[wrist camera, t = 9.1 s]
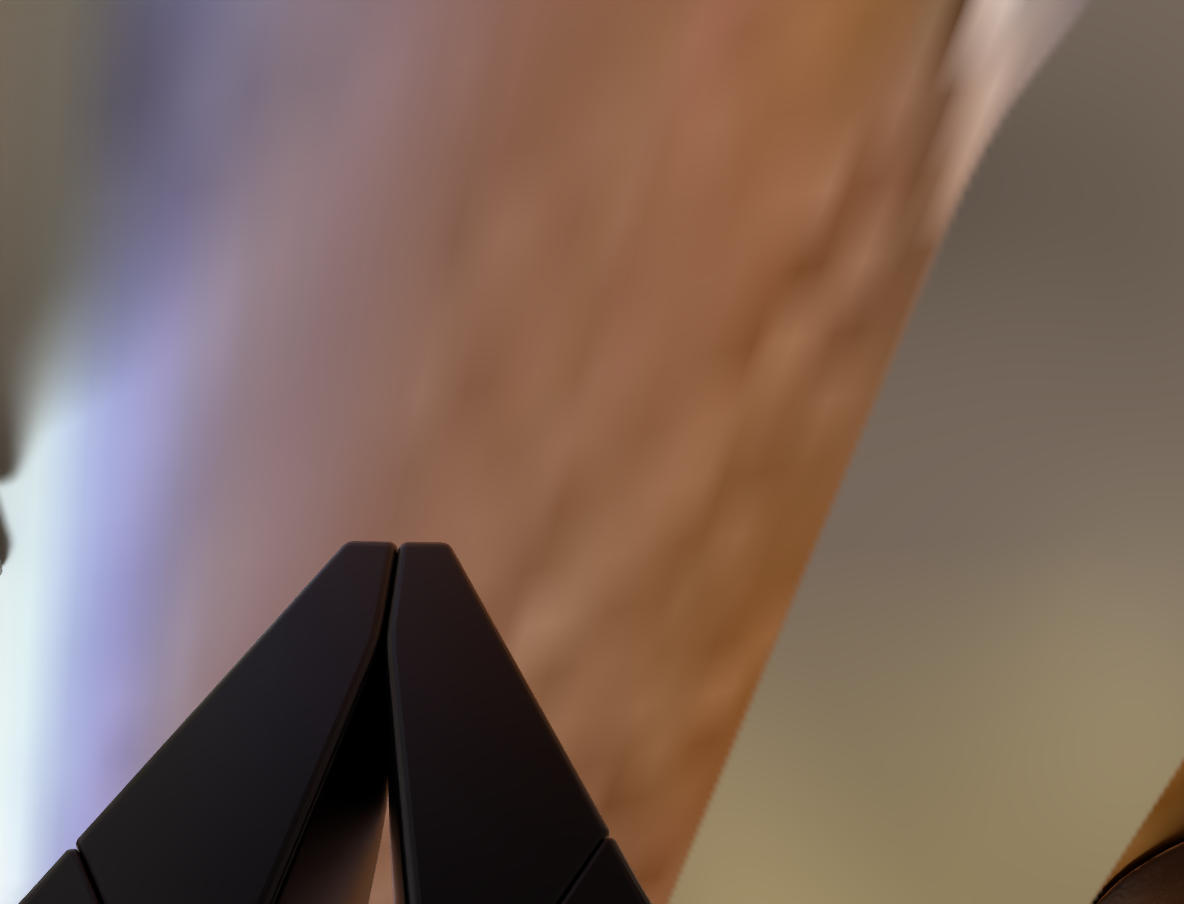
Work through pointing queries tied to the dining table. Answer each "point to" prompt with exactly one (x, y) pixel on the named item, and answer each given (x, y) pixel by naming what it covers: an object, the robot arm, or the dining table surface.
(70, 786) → the dining table surface
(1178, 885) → the brown tall piece
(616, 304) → the dining table surface
